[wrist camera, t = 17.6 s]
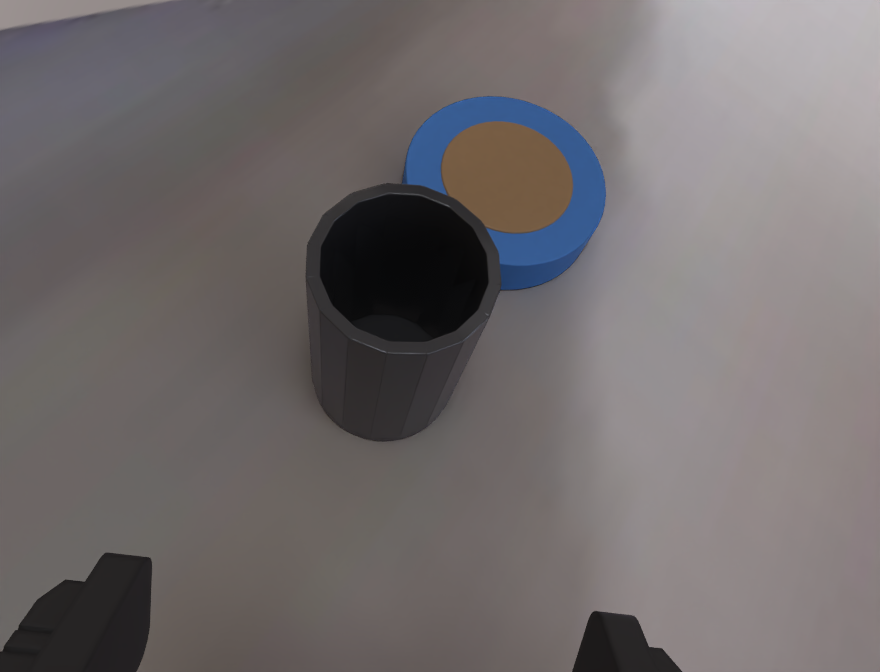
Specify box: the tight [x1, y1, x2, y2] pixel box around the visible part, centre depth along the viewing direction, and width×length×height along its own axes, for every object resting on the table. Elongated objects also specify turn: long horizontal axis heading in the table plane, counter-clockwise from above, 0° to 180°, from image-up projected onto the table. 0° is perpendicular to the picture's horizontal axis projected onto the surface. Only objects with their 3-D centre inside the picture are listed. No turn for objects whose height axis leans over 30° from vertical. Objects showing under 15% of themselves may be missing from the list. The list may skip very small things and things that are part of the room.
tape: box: [402, 96, 606, 290], centre depth 35 cm, size 10×10×3 cm
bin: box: [306, 183, 502, 441], centre depth 27 cm, size 6×6×10 cm
